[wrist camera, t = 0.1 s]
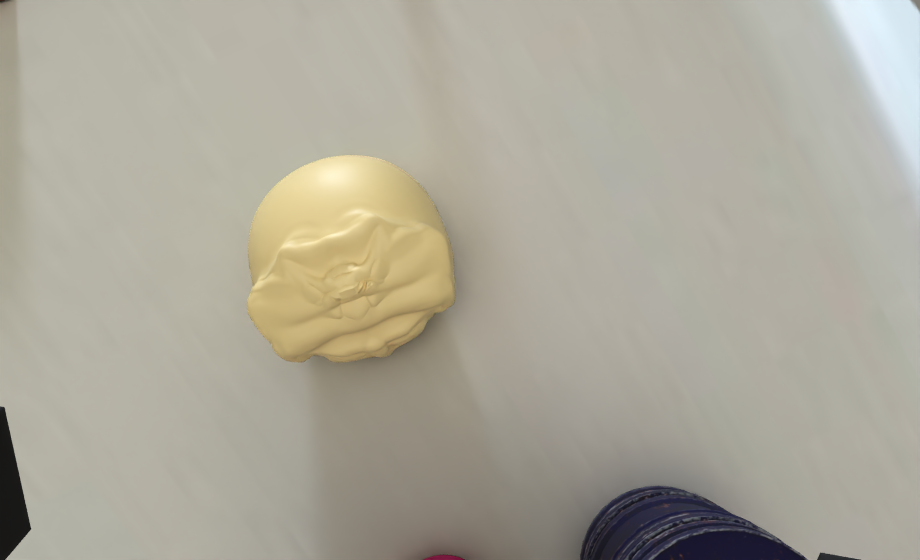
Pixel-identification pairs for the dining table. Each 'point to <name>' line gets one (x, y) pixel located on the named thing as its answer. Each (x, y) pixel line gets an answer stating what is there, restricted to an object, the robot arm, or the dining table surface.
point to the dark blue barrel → (676, 530)
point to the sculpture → (347, 261)
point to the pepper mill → (443, 557)
